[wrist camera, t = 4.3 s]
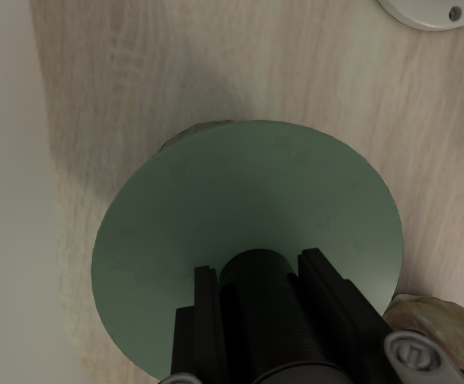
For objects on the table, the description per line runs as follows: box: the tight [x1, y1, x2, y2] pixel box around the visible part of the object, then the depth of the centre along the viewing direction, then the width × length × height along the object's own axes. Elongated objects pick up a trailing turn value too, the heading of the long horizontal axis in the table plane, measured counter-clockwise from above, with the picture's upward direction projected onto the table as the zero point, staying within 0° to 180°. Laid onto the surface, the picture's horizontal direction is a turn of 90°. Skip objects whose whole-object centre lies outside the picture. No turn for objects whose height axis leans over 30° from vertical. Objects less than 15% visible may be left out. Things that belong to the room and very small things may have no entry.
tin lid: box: [91, 120, 403, 384], centre depth 10 cm, size 12×12×6 cm
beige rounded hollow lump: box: [382, 294, 464, 370], centre depth 23 cm, size 9×8×10 cm
